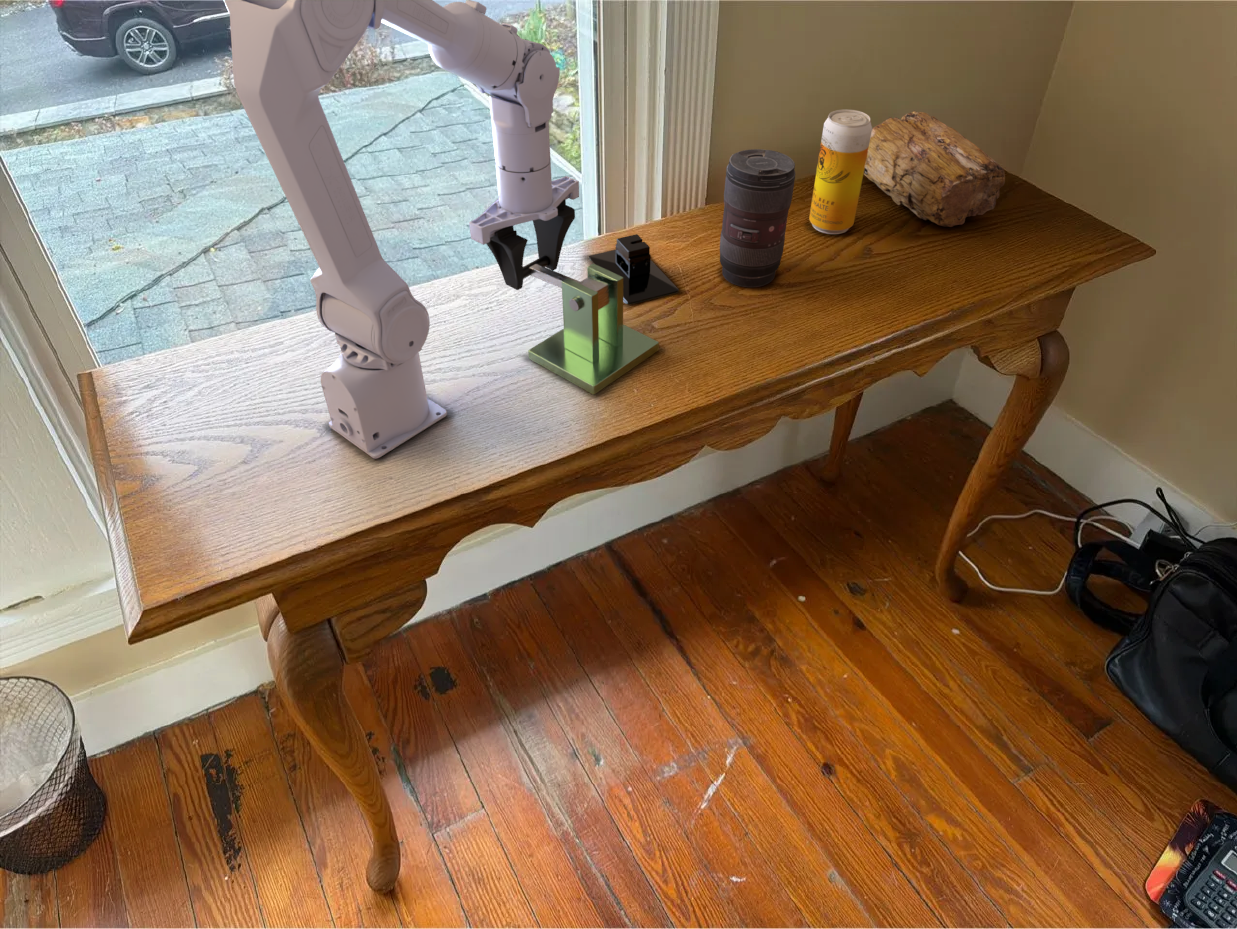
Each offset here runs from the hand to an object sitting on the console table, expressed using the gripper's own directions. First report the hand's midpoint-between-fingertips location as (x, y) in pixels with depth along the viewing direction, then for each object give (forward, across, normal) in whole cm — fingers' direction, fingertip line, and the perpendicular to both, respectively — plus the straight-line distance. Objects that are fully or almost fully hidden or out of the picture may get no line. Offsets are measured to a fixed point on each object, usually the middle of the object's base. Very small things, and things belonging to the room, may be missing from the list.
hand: (531, 276), depth 103 cm
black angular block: (+7, +16, -2) cm, 17 cm away
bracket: (+6, 0, -10) cm, 11 cm away
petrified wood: (+6, +59, -20) cm, 62 cm away
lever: (0, 0, -5) cm, 5 cm away
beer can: (+6, +44, -14) cm, 46 cm away
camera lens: (+7, +26, -12) cm, 30 cm away
